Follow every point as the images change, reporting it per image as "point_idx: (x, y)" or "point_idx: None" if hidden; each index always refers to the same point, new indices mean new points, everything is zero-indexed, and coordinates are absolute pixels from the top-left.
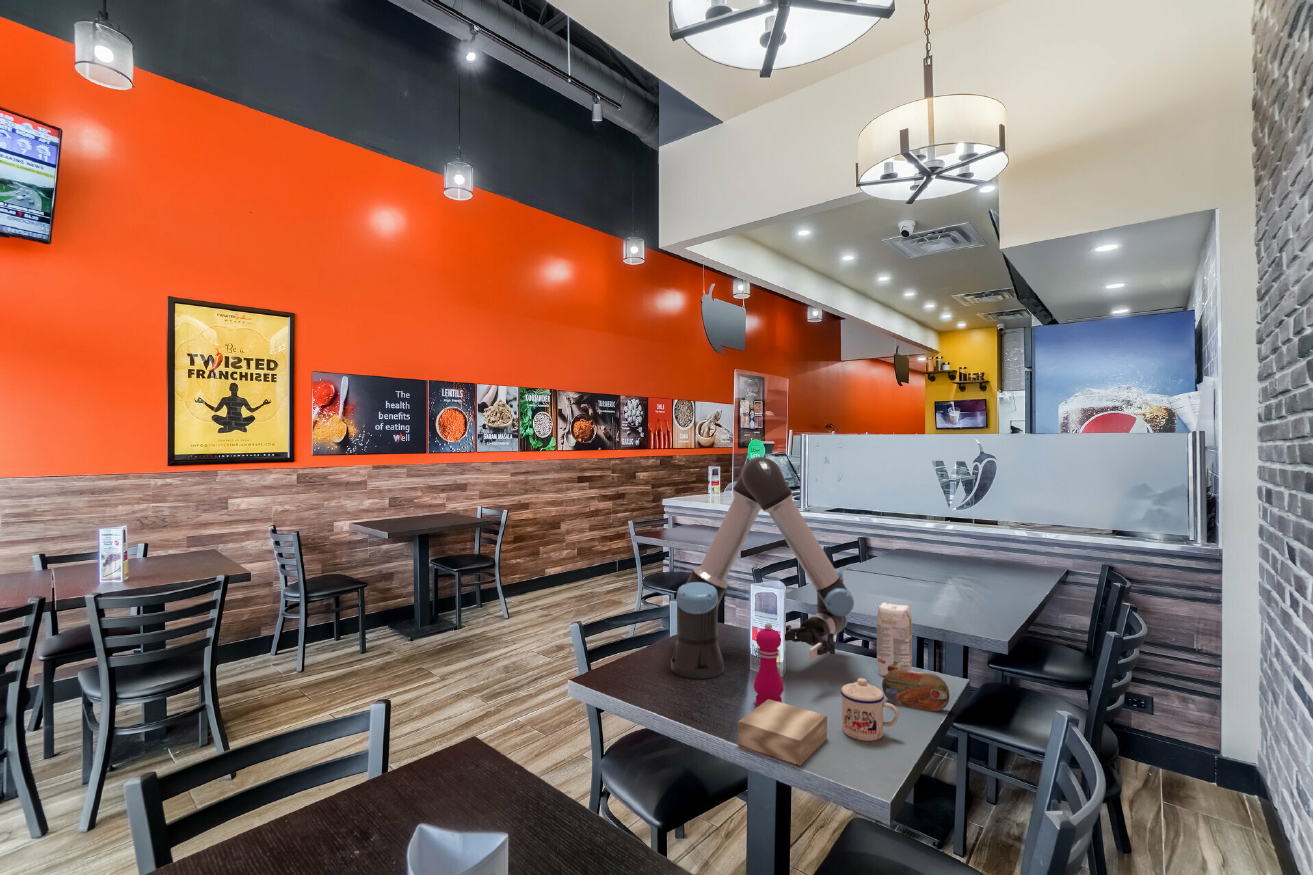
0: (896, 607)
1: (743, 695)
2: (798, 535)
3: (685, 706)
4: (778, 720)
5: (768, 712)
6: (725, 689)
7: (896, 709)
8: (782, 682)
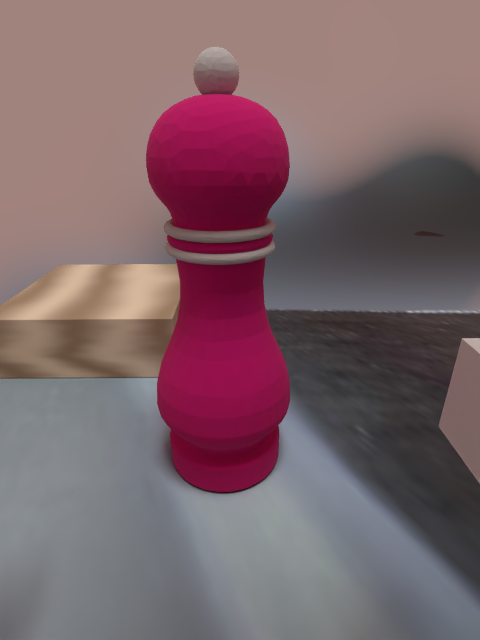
0: None
1: (357, 462)
2: None
3: (401, 344)
4: (114, 281)
5: (147, 289)
6: (459, 468)
7: None
8: (160, 381)
